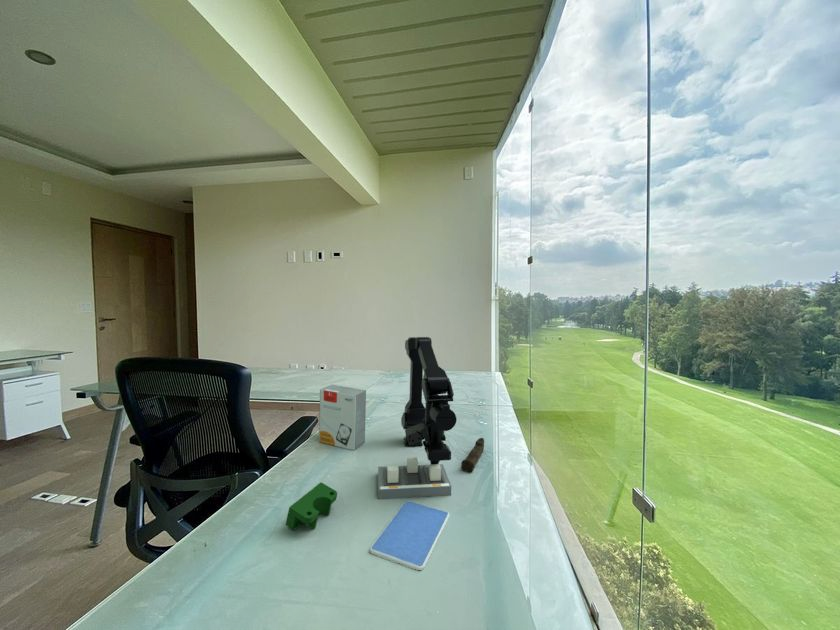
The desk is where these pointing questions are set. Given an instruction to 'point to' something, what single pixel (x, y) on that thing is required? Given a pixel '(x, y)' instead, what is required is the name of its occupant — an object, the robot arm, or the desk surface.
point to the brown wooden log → (473, 456)
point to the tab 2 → (412, 465)
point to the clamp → (311, 507)
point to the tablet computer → (411, 535)
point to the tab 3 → (434, 472)
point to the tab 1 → (392, 474)
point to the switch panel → (412, 483)
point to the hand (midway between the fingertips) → (433, 469)
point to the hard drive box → (342, 416)
